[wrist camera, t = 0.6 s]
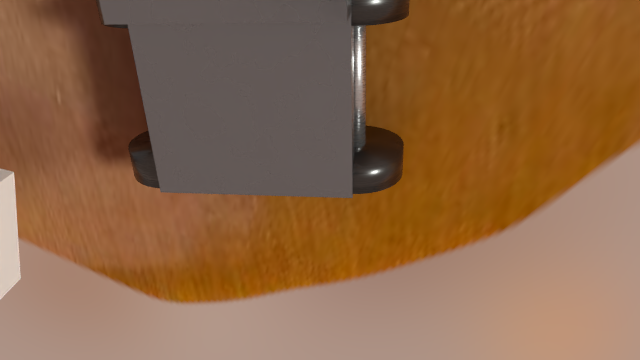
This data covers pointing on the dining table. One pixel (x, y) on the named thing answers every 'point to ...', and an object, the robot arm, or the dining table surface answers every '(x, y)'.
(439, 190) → the dining table surface
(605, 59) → the dining table surface
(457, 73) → the dining table surface
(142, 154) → the trolley
